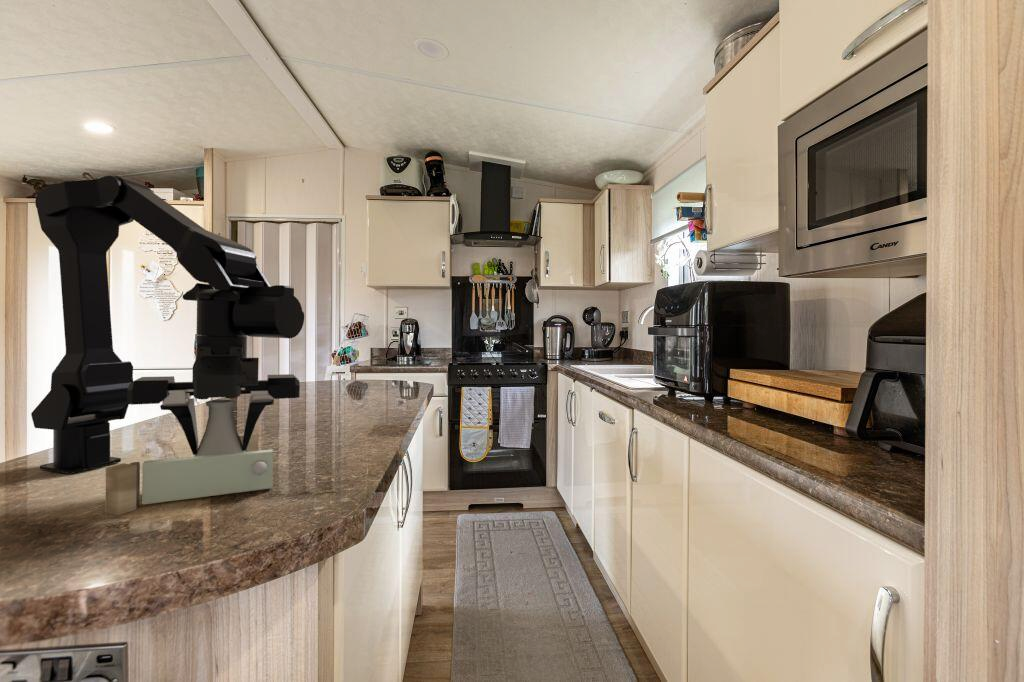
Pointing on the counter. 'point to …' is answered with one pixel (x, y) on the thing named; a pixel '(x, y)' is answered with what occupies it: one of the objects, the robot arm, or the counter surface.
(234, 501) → the counter surface
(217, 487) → the door
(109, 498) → the door frame
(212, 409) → the flask
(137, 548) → the counter surface
